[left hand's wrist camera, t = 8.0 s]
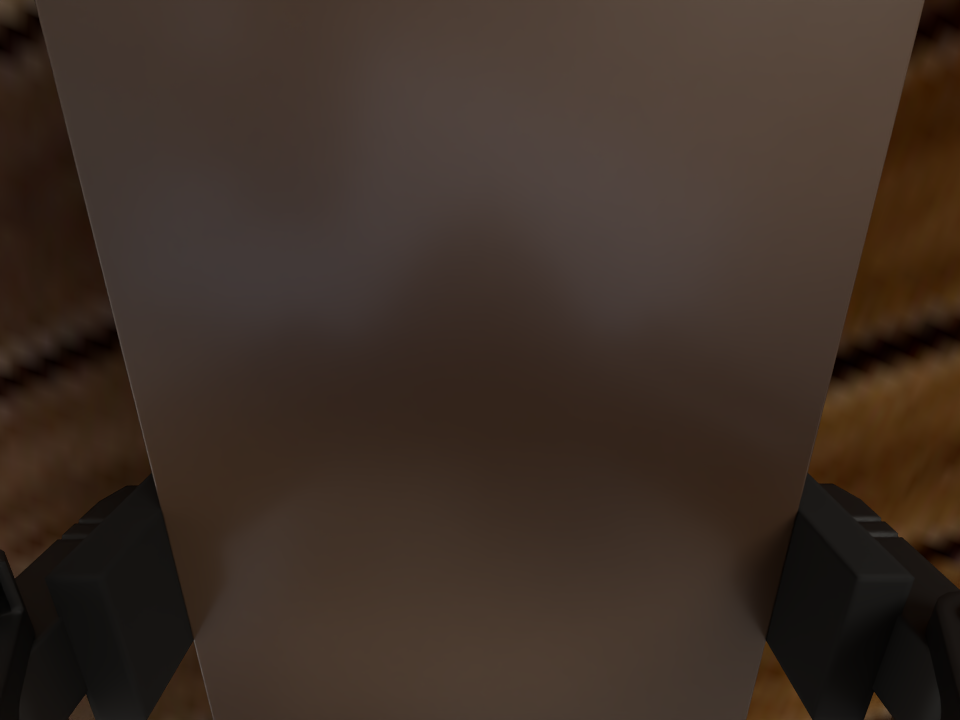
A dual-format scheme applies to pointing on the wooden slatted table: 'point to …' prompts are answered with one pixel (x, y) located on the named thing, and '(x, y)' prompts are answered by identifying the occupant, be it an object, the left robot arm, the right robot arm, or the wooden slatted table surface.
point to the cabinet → (479, 329)
